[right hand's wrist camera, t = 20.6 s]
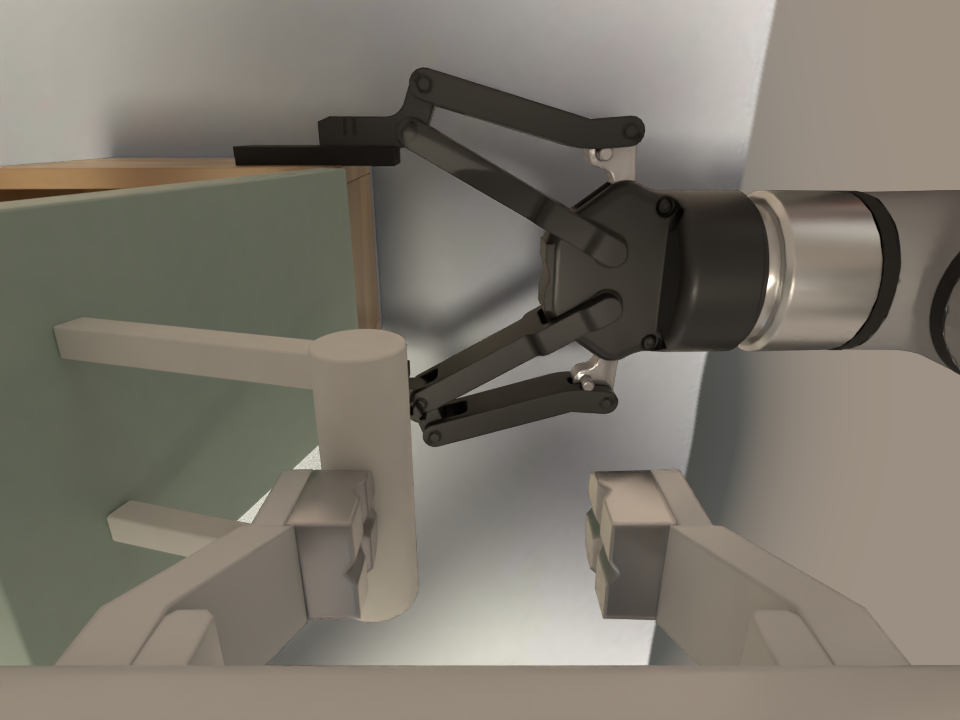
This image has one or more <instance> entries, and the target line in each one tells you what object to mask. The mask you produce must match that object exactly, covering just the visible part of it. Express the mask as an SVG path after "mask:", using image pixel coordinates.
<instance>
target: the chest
mask: <svg viewBox="0 0 960 720" xmlns="http://www.w3.org/2000/svg"><path fill="white" fill-rule="evenodd" d="M315 168H343V169H345V170H346V182H347V194H348V206H349V219H350V231H351V244H352V256H353V268H354V281H355V293H356V305H357V318H358V329H377V330H381V328H382V314H381V298H380V283H379V268H378V252H377V237H376V221H375V206H374V191H373V175H372V166H341V165H240V166H236V164H235V157H111V158H102V159H88V160H74V161H61V162H47V163H34V164H20V165H7V166H0V202H6V201H16V200H25V199H34V198H44V197H53V196H62V195H72V194H81V193H90V192H100V191H109V190H118V189H128V188H137V187H146V186H156V185H165V184H174V183H184V182H193V181H203V180H212V179H221V178H231V177H240V176H249V175H259V174H268V173H277V172H287V171H296V170H305V169H315Z"/></svg>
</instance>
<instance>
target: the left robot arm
mask: <svg viewBox="0 0 960 720" xmlns="http://www.w3.org/2000/svg"><path fill="white" fill-rule="evenodd" d="M436 106H437V107H440V108H443V109H446V110H450V111H453V112H456V113H460V114H463V115H466V116H469V117H473V118H476V119H479V120H482V121H486V122H489V123H492V124H496V125H499V126H502V127H505V128H509V129H512V130H515V131H519V132H522V133H525V134H528V135H532V136H535V137H538V138H541V139H545V140H548V141H551V142H555V143H558V144H561V145H566V146H570V147H576V148H584V154H585V158H586V161H587V162H588V163H589V164H590V165H592V166H595V167H600V168H602V169H604V171H605V172H606V173H607V175H608V182H607V183H605V184H604V185H602V186H601V187H599V188H598V189H597V190H595V191H594V192H592V193H591V194H590V195H588V196H587V197H586V198H584V199H583V200H581V201H580V202H579V203H577V204H576V205H574V206H573V207H572V208H570V209H569V208H568V207H566V206H564V205H563V204H561V203H559V202H557V201H556V200H554V199H552V198H551V197H549V196H547V195H546V194H544V193H542V192H541V191H539V190H537V189H535V188H534V187H532V186H530V185H529V184H527V183H525V182H524V181H522V180H520V179H519V178H517V177H515V176H514V175H512V174H510V173H508V172H507V171H505V170H503V169H502V168H500V167H498V166H497V165H495V164H493V163H492V162H490V161H488V160H487V159H485V158H483V157H482V156H480V155H478V154H477V153H475V152H473V151H472V150H470V149H468V148H467V147H465V146H463V145H462V144H460V143H458V142H456V141H455V140H453V139H451V138H450V137H448V136H446V135H445V134H443V133H441V132H440V131H438V130H436V129H435V128H433V127H431V126H430V123H431V120H432V116H433V113H434V110H435V107H436ZM318 130H319V141H320V145H248V146H234V147H233V150H234V157H235V164H236V166H240V165H341V166H395V165H397V164H399V163H400V148H407V149H409V150H410V151H412V152H414V153H416V154H417V155H419V156H421V157H422V158H424V159H426V160H428V161H429V162H431V163H433V164H434V165H436V166H438V167H440V168H441V169H443V170H445V171H447V172H448V173H450V174H452V175H453V176H455V177H457V178H459V179H460V180H462V181H464V182H465V183H467V184H469V185H471V186H472V187H474V188H476V189H477V190H479V191H481V192H483V193H484V194H486V195H488V196H489V197H491V198H493V199H495V200H496V201H498V202H500V203H502V204H503V205H505V206H507V207H508V208H510V209H512V210H514V211H515V212H517V213H519V214H520V215H522V216H524V217H526V218H527V219H529V220H531V221H532V222H533V223H535V224H536V225H538V226H540V227H541V228H543V229H545V230H546V231H545V233H544V236H543V237H541V241H540V254H541V259H542V263H543V268H544V269H543V273H542V276H541V279H540V282H539V292H538V300H539V302H540V304H541V305H540V306H539V307H537V308H535V309H533V310H531V311H529V312H528V313H526V314H525V315H524V316H523V318H522V319H520V320H519V321H517V322H515V323H513V324H512V325H510V326H508V327H506V328H504V329H502V330H500V331H499V332H497V333H495V334H493V335H491V336H489V337H487V338H486V339H484V340H482V341H480V342H478V343H476V344H474V345H473V346H471V347H469V348H467V349H465V350H463V351H461V352H460V353H458V354H456V355H454V356H452V357H450V358H448V359H447V360H445V361H443V362H441V363H439V364H437V365H435V366H434V367H432V368H430V369H428V370H426V371H424V372H422V373H421V374H419V375H417V376H416V377H415V378H409V377H410V360H407V364H408V384H409V404H410V419H411V420H413V421H415V422H418V423H419V425H420V427H421V429H422V432H423V440H424V441H425V443H426V444H428V445H429V446H432V447H438V446H442V445H446V444H450V443H454V442H458V441H461V440H465V439H469V438H473V437H477V436H481V435H484V434H488V433H492V432H496V431H500V430H504V429H507V428H511V427H515V426H519V425H523V424H527V423H530V422H534V421H538V420H542V419H546V418H550V417H553V416H557V415H561V414H565V413H569V412H582V413H599V414H607V413H610V412H612V411H614V410H615V409H616V408H617V405H618V398H617V396H616V395H615V393H614V391H613V385H614V380H615V374H616V369H617V363H618V360H620V359H623V358H625V357H626V356H628V355H630V354H633V353H636V352H640V351H658V352H693V351H729V350H732V349H734V348H735V347H737V346H738V347H739V348H740V349H742V350H746V351H787V350H843V349H862V350H903V351H909V352H914V353H917V354H920V355H923V356H925V357H927V358H929V359H931V360H933V361H935V362H937V363H939V364H941V365H943V366H945V367H947V368H949V369H951V370H953V371H954V372H956V373H958V374H959V375H960V190H935V191H891V192H859V191H793V190H760V191H754V192H752V193H749V194H747V195H745V194H744V193H742V192H740V191H737V190H651V189H648V188H646V187H644V186H643V185H641V184H640V183H638V182H636V181H635V174H636V145H637V144H638V143H639V142H641V140H642V139H643V137H644V134H645V126H644V123H643V122H642V120H641V119H640V118H638V117H637V116H621V117H609V118H597V119H589V118H586V117H583V116H579V115H576V114H573V113H570V112H567V111H563V110H560V109H557V108H554V107H551V106H547V105H544V104H541V103H538V102H535V101H531V100H528V99H525V98H522V97H519V96H515V95H512V94H509V93H506V92H503V91H499V90H496V89H493V88H490V87H487V86H484V85H480V84H477V83H474V82H471V81H468V80H464V79H461V78H458V77H455V76H452V75H448V74H445V73H442V72H439V71H436V70H432V69H429V68H419V69H416V70H415V71H414V72H413V73H412V75H411V77H410V79H409V87H408V90H407V94H406V97H405V100H404V104H403V106H402V108H401V109H400V110H399V112H397V113H396V114H394V115H392V116H387V117H343V116H329V117H327V118H325V119H323V120H320V121H318ZM573 341H576V342H577V343H579V344H580V345H582V346H583V347H584V348H586V349H587V350H589V351H590V352H592V353H593V354H594V355H593V357H592V358H591V359H590V360H589V361H587V362H584V363H578V364H576V365H575V366H574V367H573V368H572V370H571V371H566V372H557V373H552V374H548V375H544V376H540V377H536V378H533V379H529V380H525V381H521V382H518V383H514V384H510V385H506V386H503V387H499V388H495V389H491V390H488V391H484V392H480V393H476V394H473V395H469V396H465V397H461V398H458V397H460V396H462V395H464V394H466V393H467V392H469V391H471V390H473V389H475V388H477V387H479V386H481V385H483V384H485V383H487V382H488V381H490V380H492V379H494V378H496V377H498V376H500V375H502V374H504V373H506V372H507V371H509V370H511V369H513V368H515V367H517V366H519V365H521V364H523V363H525V362H527V361H528V360H530V359H532V358H534V357H536V356H545V355H548V354H550V353H552V352H554V351H556V350H558V349H560V348H562V347H564V346H566V345H568V344H569V343H571V342H573ZM456 398H458V399H456Z"/></svg>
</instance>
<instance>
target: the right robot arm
mask: <svg viewBox="0 0 960 720" xmlns="http://www.w3.org/2000/svg"><path fill="white" fill-rule="evenodd" d="M374 494H375V488H374V478H373V474H372V472H371V471H354V470H312V469H303V470H285V471H283V472H282V473H281V474H280V476H279V477H278V479H277V481H276V482H275V484H274V486H273V488H272V489H271V491H270V493H269V494H268V496H267V498H266V500H265V501H264V503H263V505H262V506H261V508H260V510H259V512H258V513H257V515H256V517H255V518H254V520H253V522H252V523H251V525H243V526H240V527H238V528H236V529H235V530H233V531H231V532H229V533H228V534H226V535H224V536H222V537H221V538H219V539H217V540H216V541H214V542H212V543H210V544H209V545H207V546H205V547H203V548H202V549H200V550H198V551H196V552H195V553H193V554H191V555H189V556H188V557H186V558H184V559H183V560H181V561H179V562H177V563H176V564H174V565H172V566H170V567H169V568H167V569H165V570H163V571H162V572H160V573H158V574H156V575H155V576H153V577H151V578H150V579H148V580H146V581H144V582H143V583H141V584H139V585H137V586H136V587H134V588H132V589H130V590H129V591H127V592H125V593H123V594H122V595H120V596H118V597H117V598H115V599H113V600H111V601H110V602H108V603H106V604H104V605H103V606H101V607H100V608H99V609H98V610H97V612H96V613H95V614H94V615H93V617H92V618H91V619H90V620H89V622H88V623H87V624H86V625H85V627H84V628H83V629H82V630H81V632H80V633H79V634H78V635H77V637H76V638H75V639H74V640H73V642H72V643H71V644H70V645H69V647H68V648H67V649H66V650H65V652H64V653H63V654H62V655H61V657H60V658H59V659H58V660H57V662H56V663H55V664H54V665H0V720H960V665H911V664H910V663H909V662H908V660H907V659H906V658H905V657H904V655H903V654H902V653H901V652H900V650H899V649H898V648H897V647H896V645H895V644H894V643H893V642H892V640H891V639H890V638H889V637H888V636H887V634H886V633H885V632H884V631H883V629H882V628H881V627H880V625H879V624H878V623H877V622H876V620H875V619H874V618H873V617H872V616H871V614H870V613H869V612H868V611H867V609H866V608H865V607H863V606H861V605H860V604H858V603H856V602H854V601H853V600H851V599H849V598H847V597H846V596H844V595H842V594H840V593H839V592H837V591H835V590H834V589H832V588H830V587H828V586H827V585H825V584H823V583H821V582H820V581H818V580H816V579H814V578H813V577H811V576H809V575H807V574H806V573H804V572H802V571H800V570H799V569H797V568H795V567H793V566H792V565H790V564H788V563H786V562H785V561H783V560H781V559H780V558H778V557H776V556H774V555H772V554H771V553H769V552H767V551H766V550H764V549H762V548H760V547H759V546H757V545H755V544H753V543H752V542H750V541H748V540H746V539H745V538H743V537H741V536H740V535H738V534H736V533H734V532H733V531H731V530H729V529H727V528H726V527H724V526H721V525H713V524H712V523H711V521H710V519H709V518H708V516H707V514H706V513H705V511H704V509H703V508H702V506H701V504H700V503H699V501H698V499H697V498H696V496H695V494H694V493H693V491H692V489H691V488H690V486H689V485H688V483H687V481H686V479H685V478H684V476H683V474H682V473H681V471H679V470H677V469H666V470H640V471H600V472H591V474H590V478H589V487H588V494H589V498H590V501H591V505H592V508H591V509H590V510H589V511H588V513H587V514H586V528H585V534H586V550H587V557H588V561H589V566H590V569H591V570H593V571H594V572H595V573H596V582H595V590H596V594H597V597H598V601H599V605H600V609H601V613H602V617H603V619H639V620H656V623H657V624H658V625H659V626H660V627H661V628H662V629H663V630H664V631H665V632H666V633H667V634H668V635H669V636H670V637H671V638H672V639H673V640H674V641H675V642H676V643H677V644H678V645H679V646H680V647H681V648H682V649H683V650H684V651H685V652H686V653H687V654H688V655H689V656H690V657H691V658H692V659H693V660H694V661H695V662H696V663H697V664H698V665H686V666H685V665H555V666H266V664H267V663H268V662H269V661H270V660H271V659H272V658H273V657H274V656H275V655H276V654H277V653H278V652H279V651H280V650H281V649H282V648H283V647H284V646H285V645H286V644H287V643H288V642H289V641H290V640H291V639H292V638H293V637H294V636H295V635H296V634H297V633H298V632H299V631H300V630H301V629H302V628H303V627H304V626H305V625H306V624H307V620H324V619H359V618H361V614H362V610H363V606H364V602H365V598H366V594H367V590H368V579H367V573H368V572H369V571H370V570H372V569H373V566H374V561H375V557H376V548H377V514H376V513H375V512H374V510H373V509H372V508H371V505H372V501H373V498H374Z"/></svg>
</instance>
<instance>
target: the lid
mask: <svg viewBox="0 0 960 720" xmlns="http://www.w3.org/2000/svg"><path fill="white" fill-rule="evenodd" d="M318 445H319V451H320V459H321V468H322V470H354V471H371V472H372V474H373V478H374V488H375V494H374V498H373V501H372V505H371V508H372V509H373V510H374V512H375V513H376V514H377V548H376V557H375V561H374V566H373V569H372V570H370V571H369V572H368V573H367V579H368V590H367V594H366V598H365V602H364V606H363V610H362V614H361V618H359V619H355V620H358V621H362V622H381V621H385V620H389V619H392V618H394V617H396V616H398V615H400V614H401V613H403V612H404V611H406V610H407V609H408V608H409V607H410V606H411V605H412V603H413V602H414V600H415V598H416V596H417V594H418V587H419V585H418V565H417V545H416V525H415V505H414V484H413V464H412V444H411V424H410V404H409V384H408V364H407V344H406V341H405V339H404V338H403V337H402V336H400V335H399V334H396V333H393V332H390V331H385V330H377V329H358V318H357V305H356V293H355V281H354V268H353V256H352V244H351V231H350V219H349V206H348V194H347V182H346V170H345V169H343V168H315V169H305V170H296V171H287V172H277V173H268V174H259V175H249V176H240V177H231V178H221V179H212V180H203V181H193V182H184V183H174V184H165V185H156V186H146V187H137V188H128V189H118V190H109V191H100V192H90V193H81V194H72V195H62V196H53V197H44V198H34V199H25V200H16V201H6V202H0V665H54V664H55V663H56V662H57V660H58V659H59V658H60V657H61V655H62V654H63V653H64V652H65V650H66V649H67V648H68V647H69V645H70V644H71V643H72V642H73V640H74V639H75V638H76V637H77V635H78V634H79V633H80V632H81V630H82V629H83V628H84V627H85V625H86V624H87V623H88V622H89V620H90V619H91V618H92V617H93V615H94V614H95V613H96V612H97V610H98V609H99V608H100V607H101V606H103V605H104V604H106V603H108V602H110V601H111V600H113V599H115V598H117V597H118V596H120V595H122V594H123V593H125V592H127V591H129V590H130V589H132V588H134V587H136V586H137V585H139V584H141V583H143V582H144V581H146V580H148V579H150V578H151V577H153V576H155V575H156V574H158V573H160V572H162V571H163V570H165V569H167V568H169V567H170V566H172V565H174V564H176V563H177V562H179V561H181V560H183V559H184V558H186V557H188V556H189V555H191V554H193V553H195V552H196V551H198V550H200V549H202V548H203V547H205V546H207V545H209V544H210V543H212V542H214V541H216V540H217V539H219V538H221V537H222V536H224V535H226V534H228V533H229V532H231V531H233V530H235V529H236V528H238V527H240V526H243V525H251V524H250V523H245V522H239V521H237V520H238V519H239V518H240V517H241V516H242V515H244V514H245V513H246V512H247V511H248V510H249V509H250V508H251V507H252V506H253V505H254V504H255V503H256V502H258V501H259V500H260V499H261V498H262V497H263V496H264V495H265V494H266V493H267V492H268V491H269V490H271V489H272V488H273V486H274V484H275V482H276V481H277V479H278V477H279V476H280V474H281V473H282V472H283V471H285V470H292V469H293V468H294V467H295V466H296V465H297V464H299V463H300V462H301V461H302V460H303V459H304V458H305V457H306V456H307V455H308V454H309V453H310V452H311V451H313V450H314V449H315V448H316V447H317V446H318Z"/></svg>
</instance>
